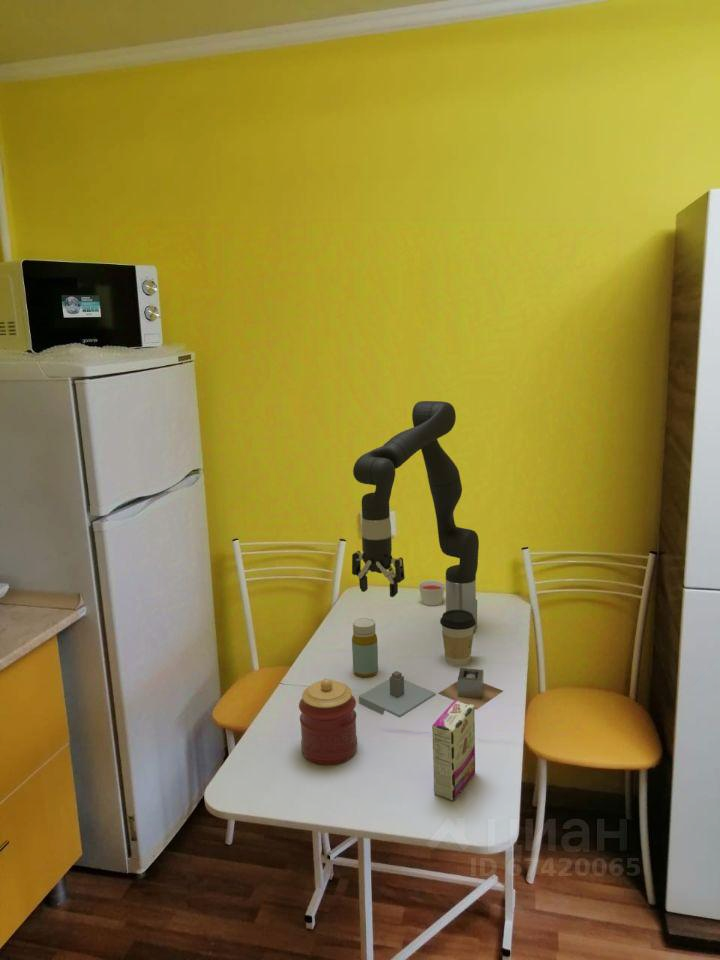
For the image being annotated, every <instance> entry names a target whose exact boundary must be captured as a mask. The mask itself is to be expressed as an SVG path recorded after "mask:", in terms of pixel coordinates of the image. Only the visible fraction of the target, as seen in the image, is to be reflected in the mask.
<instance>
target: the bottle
mask: <svg viewBox="0 0 720 960" xmlns="http://www.w3.org/2000/svg"><path fill="white" fill-rule="evenodd" d="M352 630H353V631H352V632H353V634H352V637H351V646H352V647H351V649H352V650H351V651H352V653H351V654H352V671H353V673H354V674H355V675H356V676H357V677H360V678H372V677H373V676H375V675H377V673H378V672H379V655H378V654H379V653H378V652H379V651H378V650H379V649H378V648H379V647H378V636H377V633H376V621H375V620H374V619H373V618H369V617H360V618H357V619H354V620H353V622H352Z"/></svg>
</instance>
